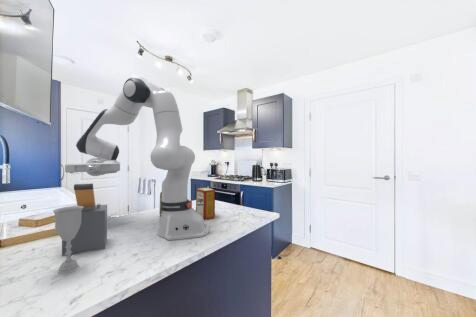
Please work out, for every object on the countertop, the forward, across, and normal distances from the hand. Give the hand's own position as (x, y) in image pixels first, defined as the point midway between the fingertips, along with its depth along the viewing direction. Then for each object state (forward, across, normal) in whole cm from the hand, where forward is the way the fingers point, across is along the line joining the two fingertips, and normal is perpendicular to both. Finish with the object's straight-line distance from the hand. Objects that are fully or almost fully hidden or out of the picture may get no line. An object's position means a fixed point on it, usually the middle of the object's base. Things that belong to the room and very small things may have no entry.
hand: (92, 167), depth 85 cm
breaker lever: (+12, 0, +14) cm, 18 cm away
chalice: (+28, -3, +29) cm, 40 cm away
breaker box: (+12, -1, +29) cm, 31 cm away
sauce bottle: (-14, +31, +29) cm, 45 cm away
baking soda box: (-4, +51, +30) cm, 59 cm away
